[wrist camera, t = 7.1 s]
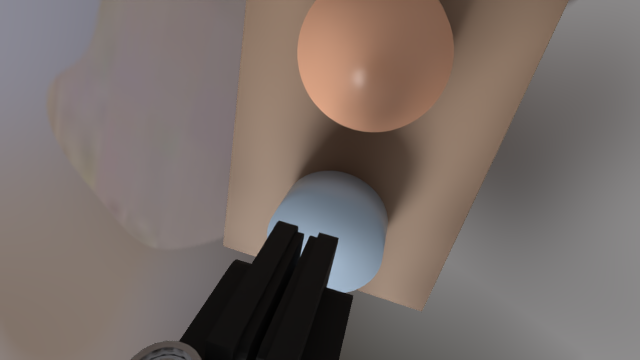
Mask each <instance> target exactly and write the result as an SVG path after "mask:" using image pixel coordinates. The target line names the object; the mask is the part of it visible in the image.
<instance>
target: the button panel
mask: <svg viewBox="0 0 640 360" xmlns="http://www.w3.org/2000/svg"><path fill="white" fill-rule="evenodd" d="M315 1H316V0H246V9H245V20H244V31H243V41H242V52H241V62H240V73H239V83H238V94H237V104H236V115H235V125H234V136H233V147H232V157H231V168H230V178H229V189H228V199H227V210H226V220H225V231H224V241H223V246H225V247H228V248H231V249H234V250H237V251H240V252H244V253H246V254H249V255H253V256H255V257H256V256H257V254H258V253H259V251H260V249H261V248H262V246H263V244H264V243H265V241H266V240H267V229H268V225H269V222H270V220H271V218H272V216H273V215H274V213H275V212H276V210H277V208H278V207H279V205H280V204H281V202H282V201H283V199H284V198H285V196H286V195H287V193H288V191H289V190H290V188H291V187H292V186H293V185H294V184H295V183H296V182H297V181H298V180H299V179H301V178H303V177H304V176H306V175H309V174H311V173H315V172H319V171H339V172H343V173H347V174H350V175H353V176H355V177H357V178H359V179H361V180H362V181H364V182H365V183H367V184H368V185H369V186H370V187H372V188H373V190H374V191H375V192H376V193H377V194H378V195H379V197H380V198H381V200H382V202H383V204H384V206H385V209H386V212H387V217H388V227H387V234H386V240H385V246H384V252H383V258H382V262H381V266H380V268H379V270H378V272H377V274H376V275H375V277H374V278H373V279H372V280H371V281H370V282H368V283H367V284H366V285H364V286H362V287H361V288H358V289H356V290H358V291H361V292H364V293H368V294H371V295H374V296H377V297H380V298H383V299H386V300H389V301H392V302H395V303H398V304H401V305H404V306H407V307H410V308H413V309H416V310H419V311H422V310H423V308H424V306H425V304H426V302H427V299H428V297H429V295H430V293H431V291H432V289H433V287H434V285H435V283H436V280H437V278H438V276H439V274H440V272H441V270H442V268H443V266H444V263H445V261H446V259H447V257H448V255H449V252H450V251H451V248H452V246H453V244H454V242H455V240H456V238H457V236H458V234H459V232H460V230H461V227H462V225H463V223H464V221H465V218H466V217H467V215H468V213H469V210H470V208H471V206H472V204H473V202H474V200H475V198H476V196H477V194H478V191H479V189H480V187H481V185H482V183H483V181H484V179H485V176H486V174H487V172H488V170H489V168H490V166H491V164H492V161H493V159H494V158H495V155H496V153H497V151H498V149H499V147H500V145H501V143H502V141H503V138H504V136H505V134H506V132H507V130H508V128H509V126H510V124H511V121H512V119H513V117H514V115H515V113H516V111H517V109H518V107H519V105H520V102H521V100H522V98H523V96H524V94H525V92H526V89H527V88H528V85H529V83H530V81H531V79H532V77H533V75H534V73H535V71H536V69H537V66H538V64H539V62H540V60H541V58H542V56H543V54H544V52H545V49H546V47H547V45H548V43H549V41H550V39H551V37H552V34H553V32H554V30H555V28H556V26H557V24H558V22H559V20H560V18H561V16H562V13H563V11H564V9H565V7H566V5H567V3H568V1H569V0H439V1H440V3H441V5H442V6H443V8H444V11H445V13H446V15H447V18H448V20H449V23H450V26H451V30H452V34H453V41H454V59H453V65H452V70H451V73H450V77H449V80H448V82H447V84H446V87H445V89H444V90H443V92H442V94H441V95H440V97H439V98H438V100H437V101H436V102H435V103H434V105H433V106H432V107H431V108H430V109H429V110H428V111H427V112H426V113H425V114H423V115H422V116H421V117H419V118H418V119H417V120H415V121H413V122H411V123H410V124H408V125H405V126H403V127H401V128H398V129H394V130H391V131H384V132H363V131H358V130H353V129H351V128H348V127H345V126H343V125H341V124H339V123H337V122H335V121H334V120H332V119H331V118H329V117H328V116H327V115H325V114H324V113H323V112H322V111H321V110H320V109H319V108H318V107H317V106H316V105H315V103H314V102H313V101H312V99H311V98H310V96H309V94H308V93H307V91H306V89H305V87H304V84H303V82H302V79H301V76H300V72H299V67H298V60H297V48H298V39H299V34H300V30H301V27H302V24H303V22H304V19H305V17H306V15H307V13H308V11H309V9H310V8H311V7H312V5H313V4H314V2H315Z"/></svg>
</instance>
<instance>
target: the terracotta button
mask: <svg viewBox="0 0 640 360" xmlns="http://www.w3.org/2000/svg"><path fill="white" fill-rule="evenodd" d="M453 59H454V41H453V34H452V30H451V26H450V23H449V20H448V18H447V15H446V13H445V11H444V8H443V6H442V5H441V3H440V1H439V0H316V1H315V2H314V4H313V5H312V7H311V8H310V9H309V11H308V13H307V15H306V17H305V19H304V22H303V24H302V27H301V30H300V34H299V39H298V48H297V60H298V67H299V72H300V76H301V79H302V82H303V84H304V87H305V89H306V91H307V93H308V94H309V96H310V98H311V99H312V101H313V102H314V103H315V105H316V106H317V107H318V108H319V109H320V110H321V111H322V112H323V113H324V114H325V115H327V116H328V117H329V118H331V119H332V120H334V121H335V122H337V123H339V124H341V125H343V126H345V127H348V128H351V129H353V130H358V131H363V132H384V131H391V130H394V129H398V128H401V127H403V126H405V125H408V124H410V123H411V122H413V121H415V120H417V119H418V118H419V117H421V116H422V115H423V114H425V113H426V112H427V111H428V110H429V109H430V108H431V107H432V106H433V105H434V103H435V102H436V101H437V100H438V98H439V97H440V95H441V94H442V92H443V90H444V89H445V87H446V84H447V82H448V80H449V77H450V73H451V70H452V65H453Z"/></svg>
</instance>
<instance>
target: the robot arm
mask: <svg viewBox="0 0 640 360" xmlns="http://www.w3.org/2000/svg"><path fill="white" fill-rule="evenodd" d="M303 240H304V233H301V232H298V226H296V225H293V224H290V223H286V222H283V221H278V222H277V223H276V225H275V226H274V228H273V230H272V231H271V233H270V235H269V236H268V238H267V240H266V241H265V243H264V244H263V246H262V248H261V249H260V251H259V253H258V254H257V256H256V258H255V259H254V261H253V263H252V264H250V263H247V262H243V261H240V260H235V261H234V262H233V263H232V264H231V265H230V267H229V268H228V270H227V271H226V272H225V274H224V275H223V277H222V278H221V280H220V281H219V283H218V284H217V286H216V287H215V289H214V290H213V292H212V293H211V295H210V296H209V298H208V299H207V301H206V302H205V304H204V305H203V307H202V308H201V310H200V311H199V313H198V314H197V315H196V317H195V319H194V320H193V321H192V323H191V324H190V326H189V327H188V329H187V330H186V332H185V333H184V335H183V336H182V338H181V339H180V341H163V342H159V343H154V344H152V345H150V346H148V347H146V348H144V349H142V350H141V351H140V352H139V353H137V354H136V355H135V356H134V357H133V358H132V359H131V360H339V356H340V351H341V347H342V343H343V339H344V335H345V330H346V326H347V321H348V317H349V313H350V308H351V304H352V300H353V295H350V294H346V293H343V292H340V291H337V290H334V289H330V288H327V284H328V280H329V276H330V272H331V268H332V264H333V260H334V257H335V253H336V249H337V245H338V240H339V238H337V237H334V236H330V235H327V234H324V233H320V232H319V234H318V236H317V237H314V236H311V235H310V236H309V238H308V241H307V243H306V245H305V247H304V249H303V252H302V254H301V250H302V245H303ZM300 255H301V256H300Z"/></svg>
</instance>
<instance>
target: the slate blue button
mask: <svg viewBox="0 0 640 360" xmlns="http://www.w3.org/2000/svg"><path fill="white" fill-rule="evenodd" d="M278 221H283V222H286V223H290V224H293V225H296V226H298V232H301V233H304V240H303V245H302V250H301V254H302V252H303V249H304V247H305V245H306V243H307V241H308V238H309V236H310V235H311V236H314V237H317V236H318V234H319V232H320V233H324V234H327V235H330V236H334V237H337V238H339V240H338V245H337V249H336V253H335V257H334V260H333V264H332V268H331V272H330V276H329V280H328V284H327V288H330V289H334V290H337V291H340V292H343V293H345V292H349V291H353V290H356V289H358V288H361V287H362V286H364V285H366V284H367V283H368V282H370V281H371V280H372V279H373V278H374V277H375V275H376V274H377V272H378V270H379V268H380V266H381V262H382V258H383V252H384V246H385V240H386V234H387V227H388V217H387V212H386V209H385V206H384V204H383V202H382V200H381V198H380V197H379V195H378V194H377V193H376V192H375V191H374V190H373V188H372V187H370V186H369V185H368V184H367V183H365V182H364V181H362V180H361V179H359V178H357V177H355V176H353V175H350V174H347V173H343V172H339V171H319V172H315V173H311V174H309V175H306V176H304V177H303V178H301V179H299V180H298V181H297V182H296V183H295V184H294V185H293V186H292V187H291V188H290V190H289V191H288V193H287V195H286V196H285V198H284V199H283V201H282V202H281V204H280V205H279V207H278V208H277V210H276V212H275V213H274V215H273V216H272V218H271V220H270V222H269V225H268V229H267V238H268V236H269V235H270V233H271V231H272V230H273V228H274V226H275V225H276V223H277V222H278ZM300 256H301V255H300Z"/></svg>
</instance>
